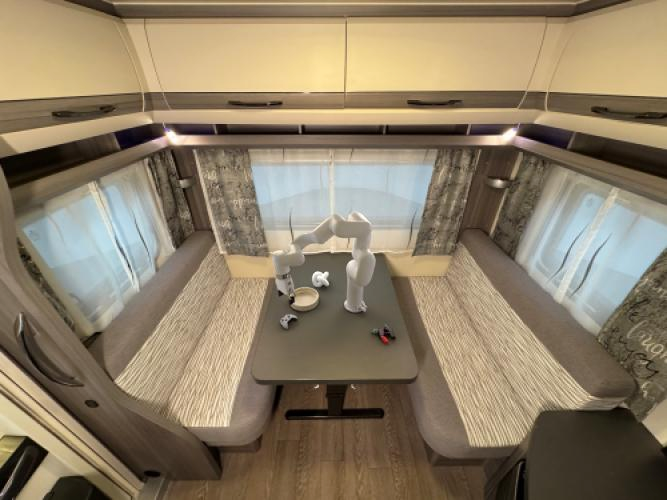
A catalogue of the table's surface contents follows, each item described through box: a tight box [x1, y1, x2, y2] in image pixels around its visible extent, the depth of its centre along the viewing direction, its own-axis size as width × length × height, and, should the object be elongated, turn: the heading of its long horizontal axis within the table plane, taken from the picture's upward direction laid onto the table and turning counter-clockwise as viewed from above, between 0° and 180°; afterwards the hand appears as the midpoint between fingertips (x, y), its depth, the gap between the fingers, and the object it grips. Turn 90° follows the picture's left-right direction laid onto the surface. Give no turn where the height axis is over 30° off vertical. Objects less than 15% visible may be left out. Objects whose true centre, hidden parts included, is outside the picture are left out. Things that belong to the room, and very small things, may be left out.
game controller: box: [279, 313, 298, 330], centre depth 146 cm, size 10×5×6 cm
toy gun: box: [371, 323, 396, 345], centre depth 135 cm, size 10×12×5 cm
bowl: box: [290, 286, 320, 312], centre depth 161 cm, size 18×18×4 cm
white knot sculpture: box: [311, 271, 330, 288], centre depth 175 cm, size 11×12×9 cm
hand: (286, 299), depth 139 cm, fingers open, 9 cm apart
